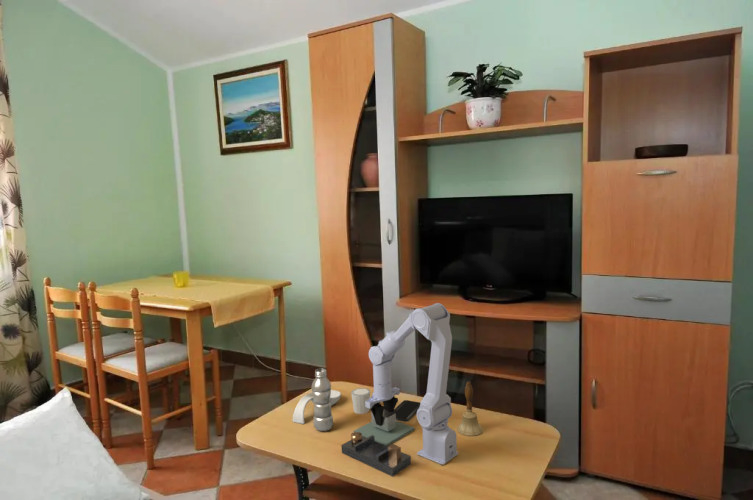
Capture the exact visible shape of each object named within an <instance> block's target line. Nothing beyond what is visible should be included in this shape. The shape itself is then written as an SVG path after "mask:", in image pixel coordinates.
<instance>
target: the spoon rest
mask: <svg viewBox="0 0 753 500" xmlns="http://www.w3.org/2000/svg"><path fill="white" fill-rule="evenodd" d="M341 397H342V393H341V392H340V391H339V390H335V389H331V396H330V405H331V407H332V406H333V405H334V404H335V405H336V403H337V402H339V401H340V399H341ZM310 401H311V403H312V404H314V398H313V393H312V391H311V392H310V393H307V394H305V395H303V396H302V397H301V398H300V399H299V401H298V403H297V404H296V406H295V409H294V412H293V414H292V422H293V423H295V424H300V425H304V424H305V409H306V407H307V404H309V402H310Z"/></svg>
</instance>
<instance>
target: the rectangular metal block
mask: <svg viewBox="0 0 753 500" xmlns="http://www.w3.org/2000/svg"><path fill="white" fill-rule="evenodd" d="M370 413H371V414H370V415H371V416H370V417H371V422H372V426H375V427H378V428H380V429H383V430H385V431H390V430H391V429H393V428H395V427H396V421H397V419H396V414H395V413H393V412H390V411H387V410H384V412H383V423H382V426H379V425H377V424H376V422H375V418H374V416H373V413H372V411H370Z"/></svg>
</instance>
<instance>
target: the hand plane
mask: <svg viewBox="0 0 753 500" xmlns="http://www.w3.org/2000/svg"><path fill="white" fill-rule="evenodd" d="M350 437H351V438H350V440H348V441H346V442H345V443H343V444H341V454H343V455H345V456H348V457H350V458H352V459H354V460H356V461H358V462H361V463H362V464H365V465H367V466H369V467H371V468H373V469H375V470H377V471H379V472H381V473H384V474H386V475H388V476H390V477H392V478H393V477H394V476H396V475H397V474H399V473H401V472H402V471H404V470H405V469H406V468H408V467H409V466H411V465H412V456H411V455H409V454H406V452H403V451H402V450H401V449H402V448H401V447H400V446H398V445H397V444H394V443H392V444H390V445H389V446H386V445H383V444H381V443H378V442H376V441H375V437H374V436H373V435H372V436H370V437H368V438H366V437H364V436H362V433H360V432H354V431H353V432H352V433H351V434H350Z"/></svg>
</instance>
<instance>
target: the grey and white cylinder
mask: <svg viewBox="0 0 753 500" xmlns="http://www.w3.org/2000/svg"><path fill="white" fill-rule="evenodd" d="M350 393H351V401H352V408H353V412H354V413H355V414H357V415H363V414H364V415H365V414H367V413H369V411H370V409H369V408H366V407H365V401H367V400H368V399H369V398H370V397H371V390H370V389H368V388H355V389H352V390H351V391H350Z"/></svg>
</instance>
